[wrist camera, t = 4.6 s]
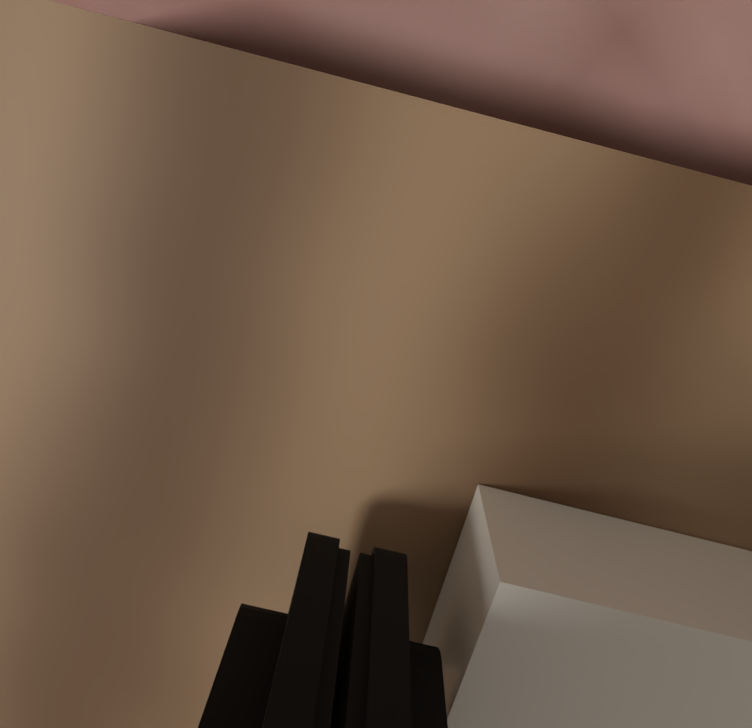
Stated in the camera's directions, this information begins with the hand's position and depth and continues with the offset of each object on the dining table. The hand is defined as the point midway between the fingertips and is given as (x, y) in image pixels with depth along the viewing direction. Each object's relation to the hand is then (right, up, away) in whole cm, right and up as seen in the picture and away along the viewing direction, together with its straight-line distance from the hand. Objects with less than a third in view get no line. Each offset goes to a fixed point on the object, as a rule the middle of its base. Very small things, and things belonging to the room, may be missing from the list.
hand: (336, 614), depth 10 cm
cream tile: (+4, -1, +1) cm, 4 cm away
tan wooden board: (+3, 0, +4) cm, 5 cm away
